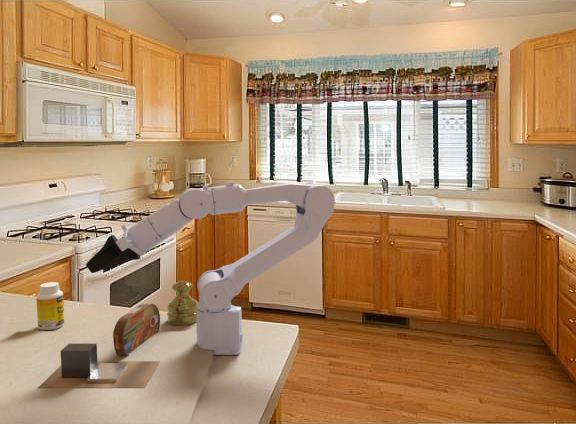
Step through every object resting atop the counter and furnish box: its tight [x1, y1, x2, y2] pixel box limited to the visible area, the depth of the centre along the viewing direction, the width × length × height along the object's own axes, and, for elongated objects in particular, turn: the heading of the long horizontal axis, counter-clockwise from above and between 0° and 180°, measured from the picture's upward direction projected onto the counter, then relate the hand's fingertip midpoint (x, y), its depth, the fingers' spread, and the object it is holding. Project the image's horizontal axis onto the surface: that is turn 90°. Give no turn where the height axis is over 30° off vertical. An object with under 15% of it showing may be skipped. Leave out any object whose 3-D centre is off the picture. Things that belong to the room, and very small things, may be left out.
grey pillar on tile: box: [60, 343, 128, 382], centre depth 81 cm, size 10×6×5 cm, turn 91°
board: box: [37, 360, 161, 389], centre depth 82 cm, size 18×10×1 cm, turn 91°
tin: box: [112, 303, 161, 357], centre depth 95 cm, size 15×3×8 cm, turn 168°
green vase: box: [166, 279, 199, 326], centre depth 111 cm, size 7×7×10 cm
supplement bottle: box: [35, 281, 65, 331], centre depth 107 cm, size 6×6×10 cm
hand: (95, 267), depth 88 cm, fingers open, 7 cm apart
